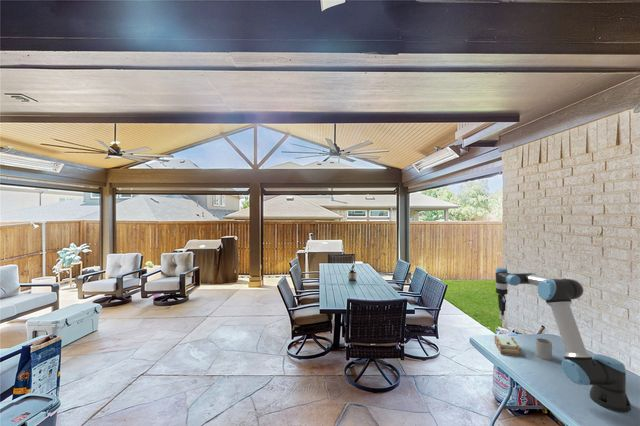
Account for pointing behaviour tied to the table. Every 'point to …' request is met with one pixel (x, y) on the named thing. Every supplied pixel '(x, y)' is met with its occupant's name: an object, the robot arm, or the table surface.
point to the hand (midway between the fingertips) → (502, 318)
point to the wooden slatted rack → (508, 350)
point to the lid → (507, 343)
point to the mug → (544, 348)
